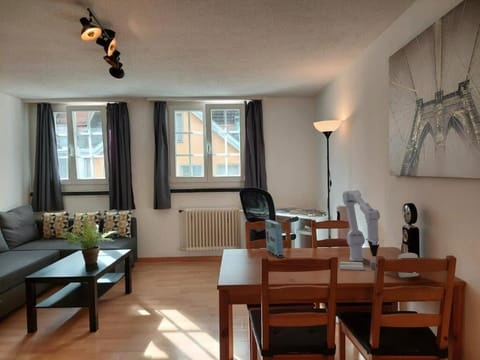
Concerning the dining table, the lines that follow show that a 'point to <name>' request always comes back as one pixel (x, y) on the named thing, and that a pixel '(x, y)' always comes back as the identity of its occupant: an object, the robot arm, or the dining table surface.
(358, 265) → the channel
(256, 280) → the dining table surface
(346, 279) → the dining table surface
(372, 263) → the slate block
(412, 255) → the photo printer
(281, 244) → the gum box
